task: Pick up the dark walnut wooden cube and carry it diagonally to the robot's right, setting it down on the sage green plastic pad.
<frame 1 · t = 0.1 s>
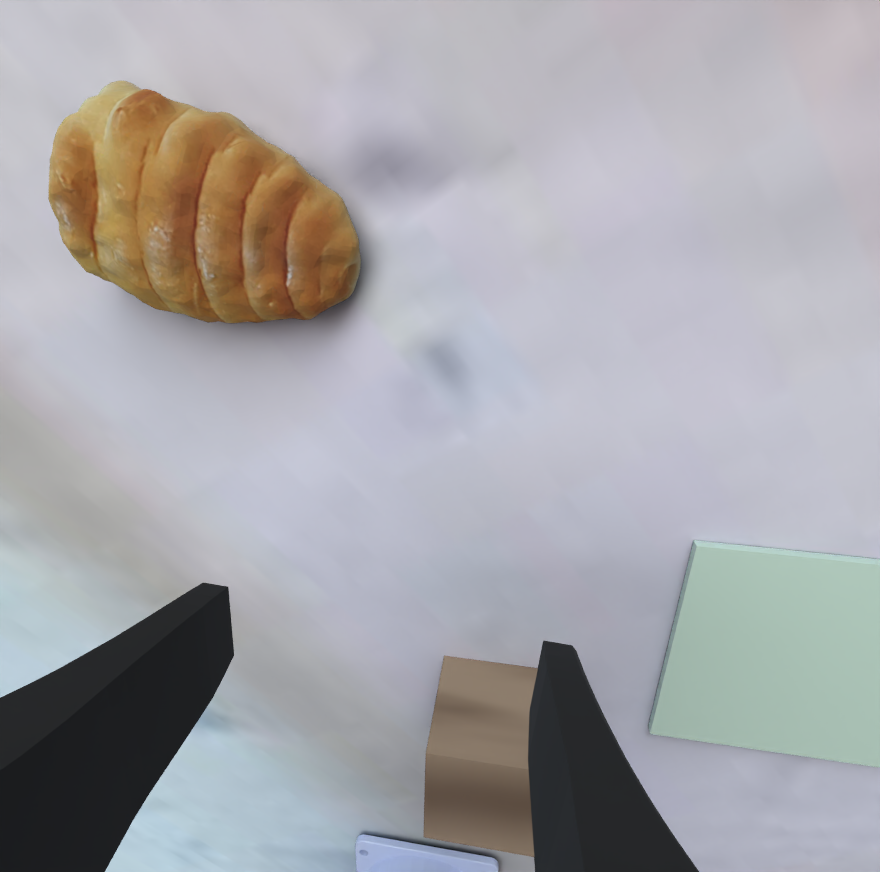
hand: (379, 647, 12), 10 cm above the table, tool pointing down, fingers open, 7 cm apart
walnut cube: (494, 701, 26), on the table
pastry: (226, 214, 19), on the table
green pad: (796, 656, 22), on the table
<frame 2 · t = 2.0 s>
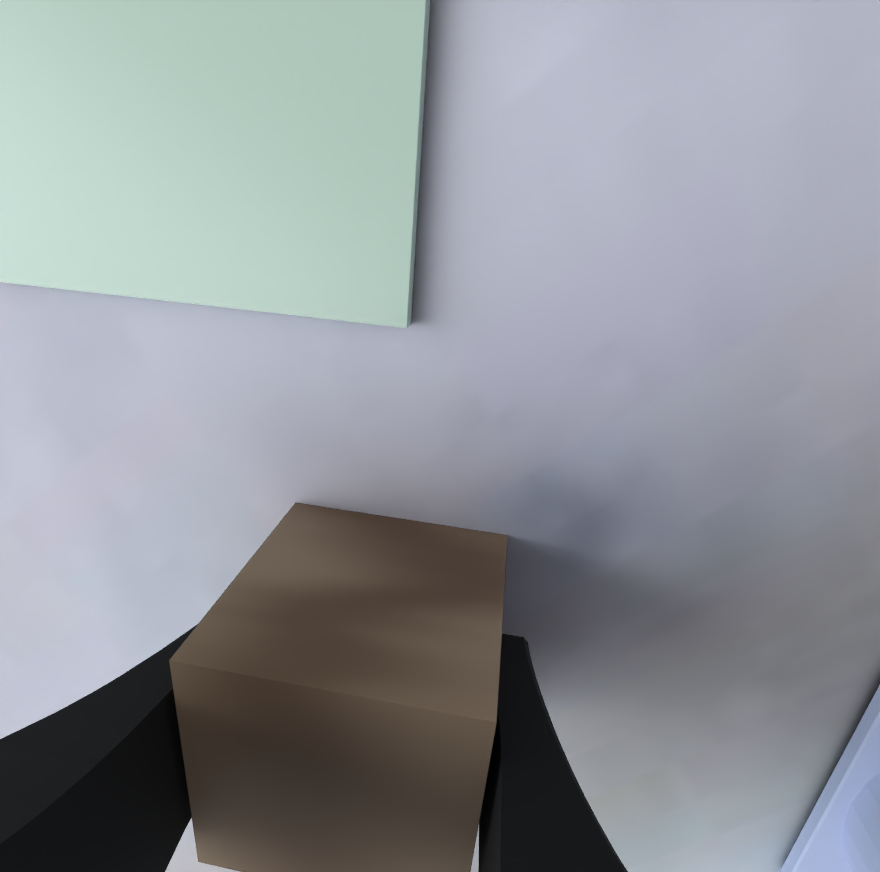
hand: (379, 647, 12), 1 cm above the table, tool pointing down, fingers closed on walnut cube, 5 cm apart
walnut cube: (394, 603, 14), on the table, touching gripper
green pad: (142, 1, 9), on the table
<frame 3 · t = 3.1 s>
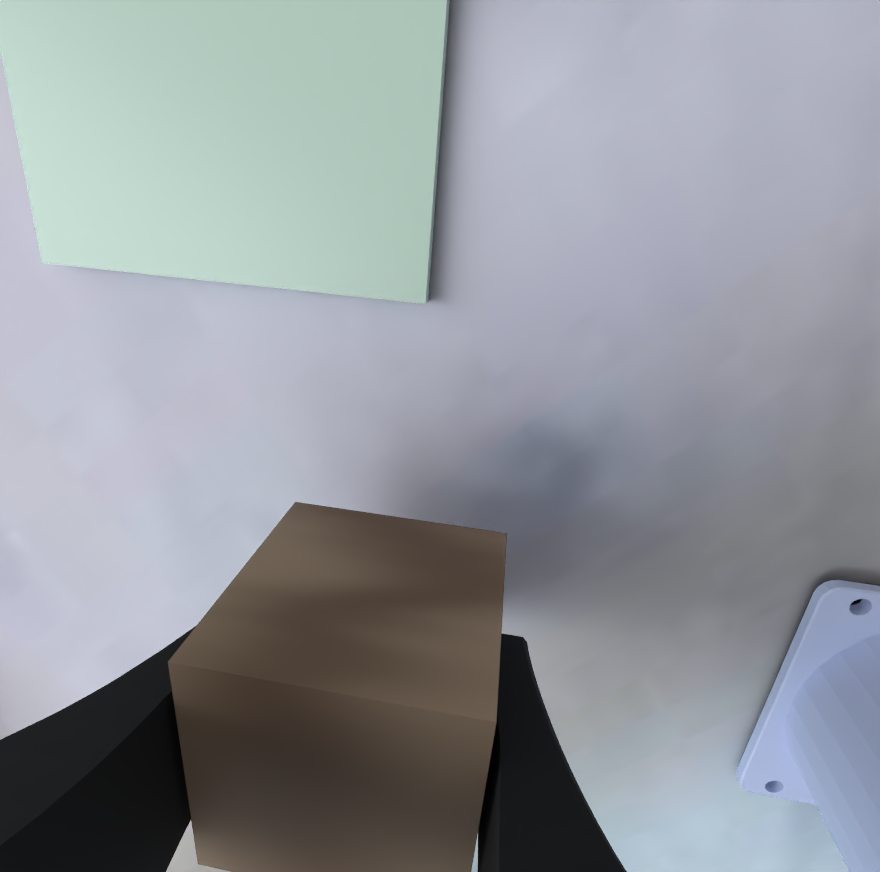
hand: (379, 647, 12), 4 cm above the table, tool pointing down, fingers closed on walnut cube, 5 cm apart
walnut cube: (393, 603, 14), point 3 cm above the table, touching gripper
green pad: (219, 45, 12), on the table
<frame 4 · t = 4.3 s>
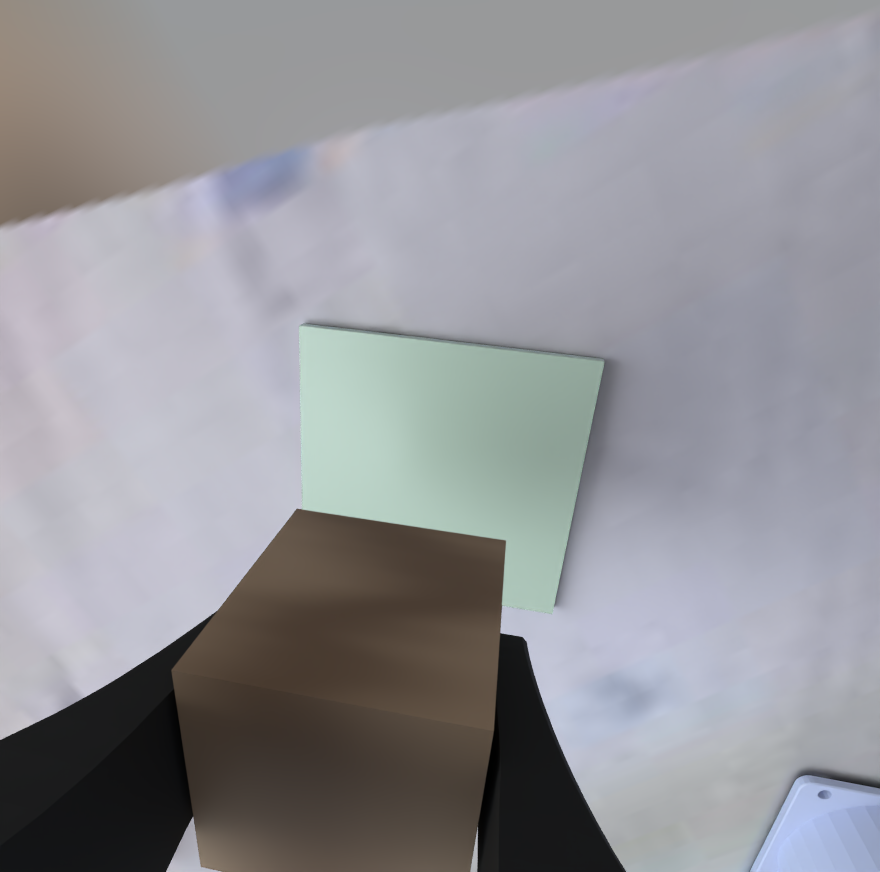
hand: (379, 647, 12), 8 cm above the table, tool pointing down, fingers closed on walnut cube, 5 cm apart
walnut cube: (394, 608, 14), point 7 cm above the table, touching gripper
green pad: (436, 475, 20), on the table
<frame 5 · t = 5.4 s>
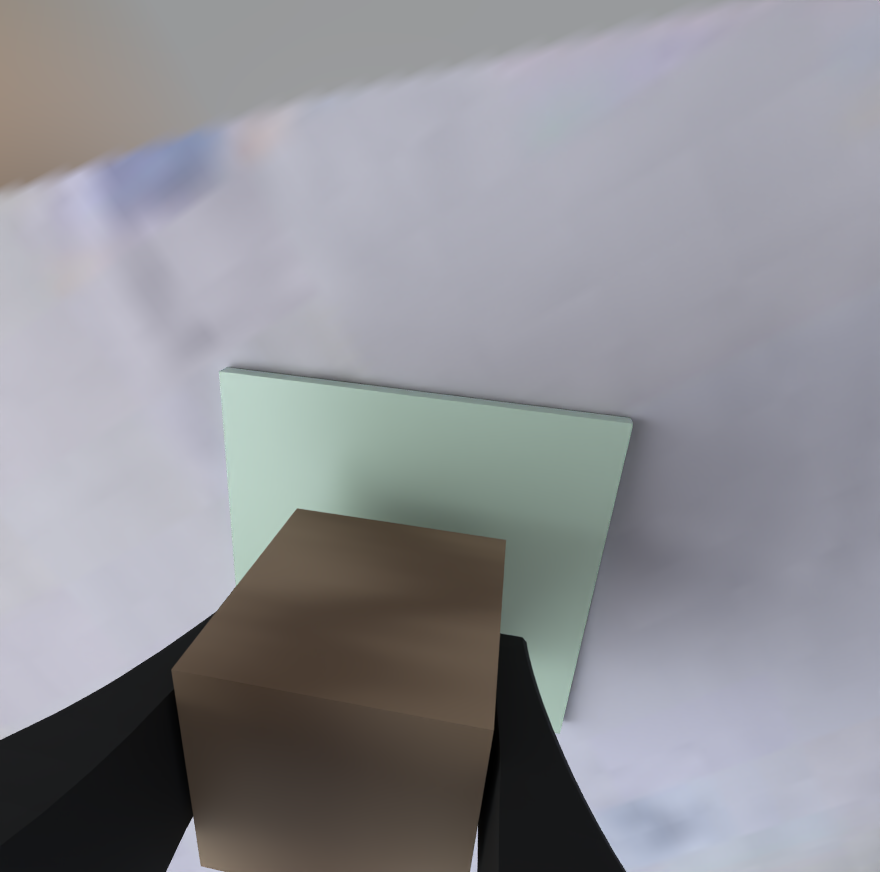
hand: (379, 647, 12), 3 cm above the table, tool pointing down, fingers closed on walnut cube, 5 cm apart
walnut cube: (394, 608, 14), point 2 cm above the table, touching gripper
green pad: (408, 561, 15), on the table
when the fingers open (3 cm above the table, at t = 6.2 s): walnut cube drops 1 cm, resting on green pad.
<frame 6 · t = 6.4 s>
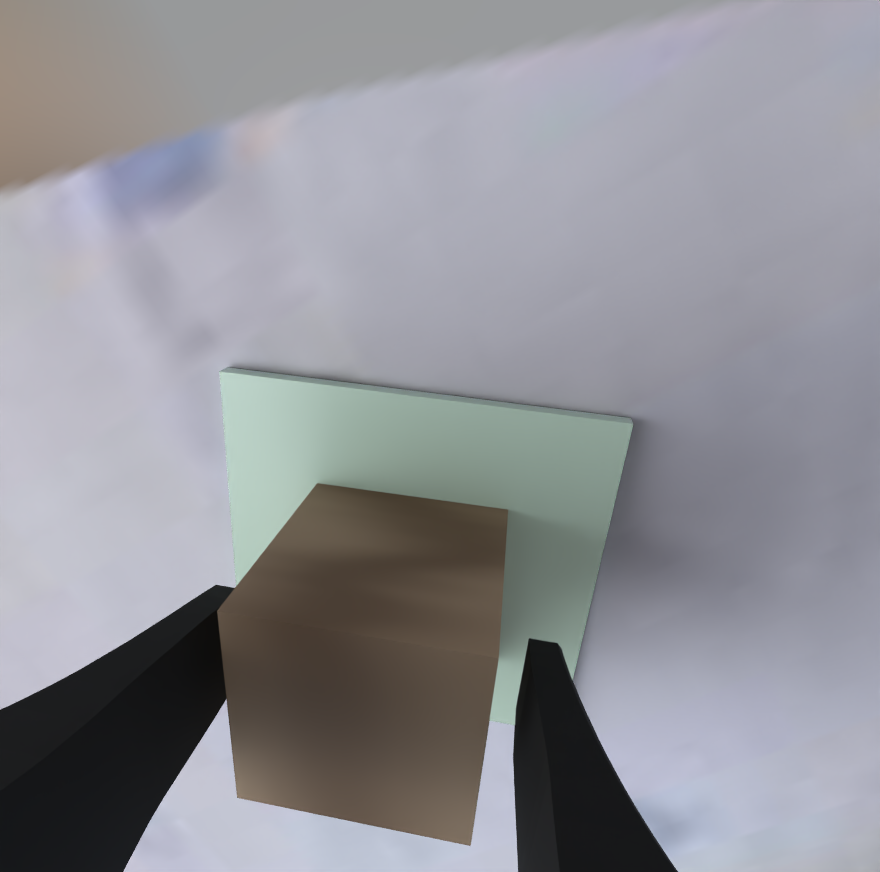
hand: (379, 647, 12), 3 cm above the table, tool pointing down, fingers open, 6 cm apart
walnut cube: (406, 575, 15), resting on green pad
green pad: (408, 561, 15), on the table
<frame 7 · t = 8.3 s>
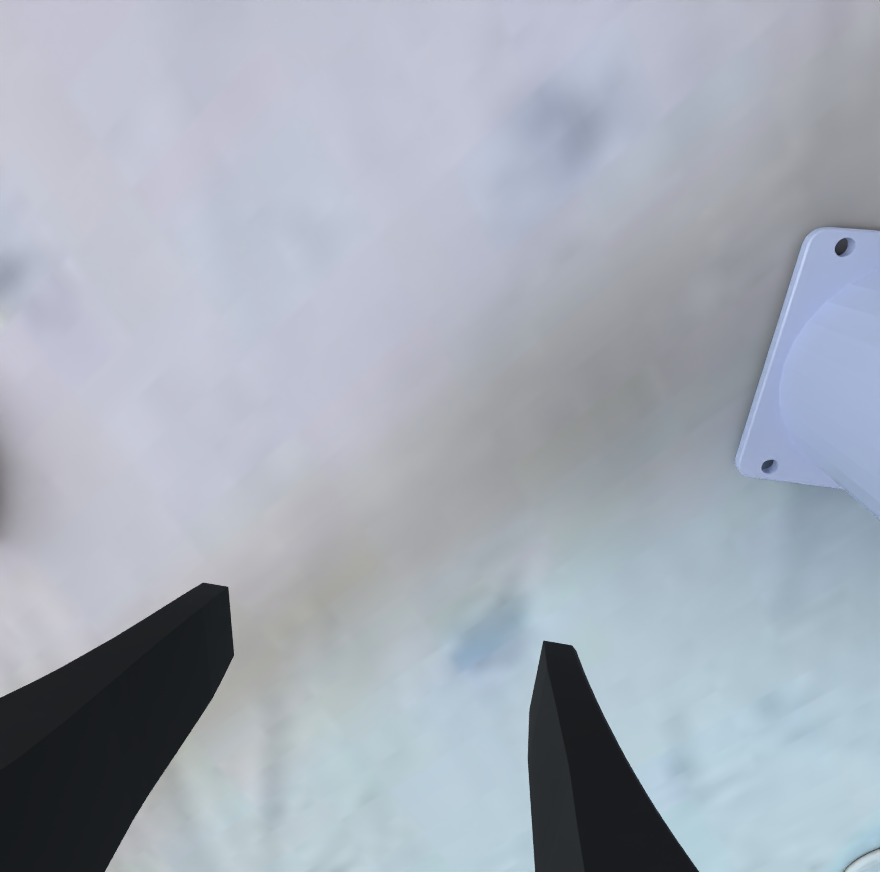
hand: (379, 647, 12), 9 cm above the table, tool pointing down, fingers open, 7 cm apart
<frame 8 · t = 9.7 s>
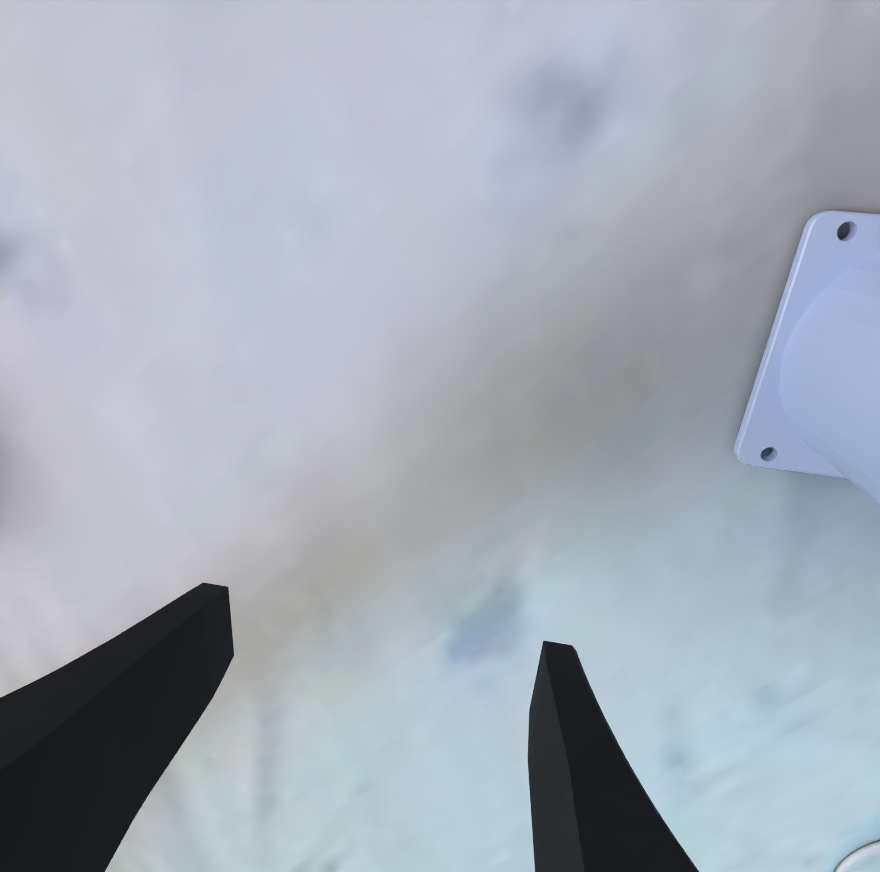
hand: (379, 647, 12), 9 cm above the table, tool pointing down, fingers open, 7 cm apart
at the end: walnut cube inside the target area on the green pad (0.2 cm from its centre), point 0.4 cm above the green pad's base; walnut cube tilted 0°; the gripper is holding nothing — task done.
